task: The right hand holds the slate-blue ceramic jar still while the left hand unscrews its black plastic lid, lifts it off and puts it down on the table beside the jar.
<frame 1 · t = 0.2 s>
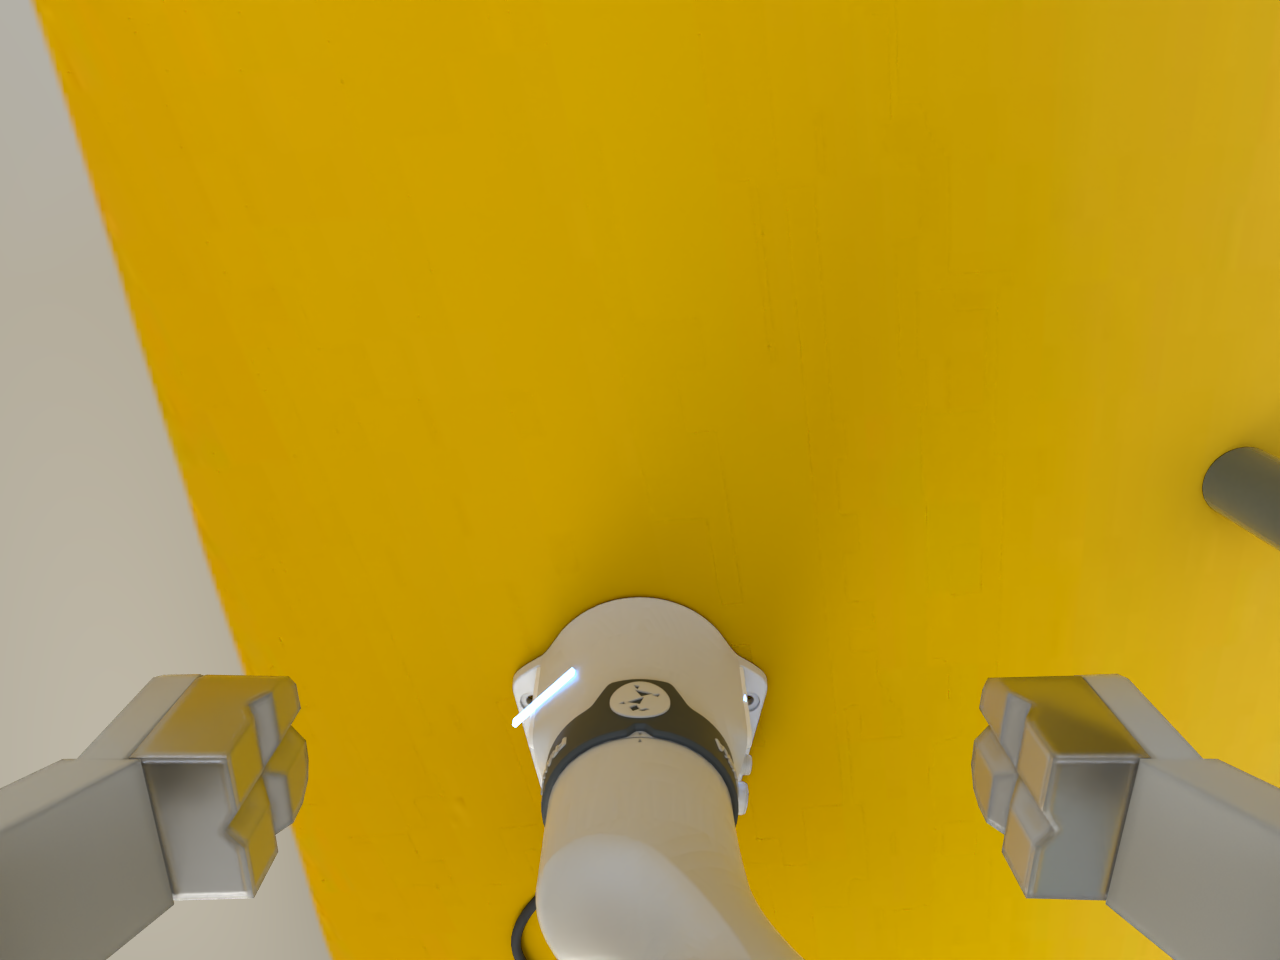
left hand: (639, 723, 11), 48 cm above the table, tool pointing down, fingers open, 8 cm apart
jar: (1238, 481, 61), on the table
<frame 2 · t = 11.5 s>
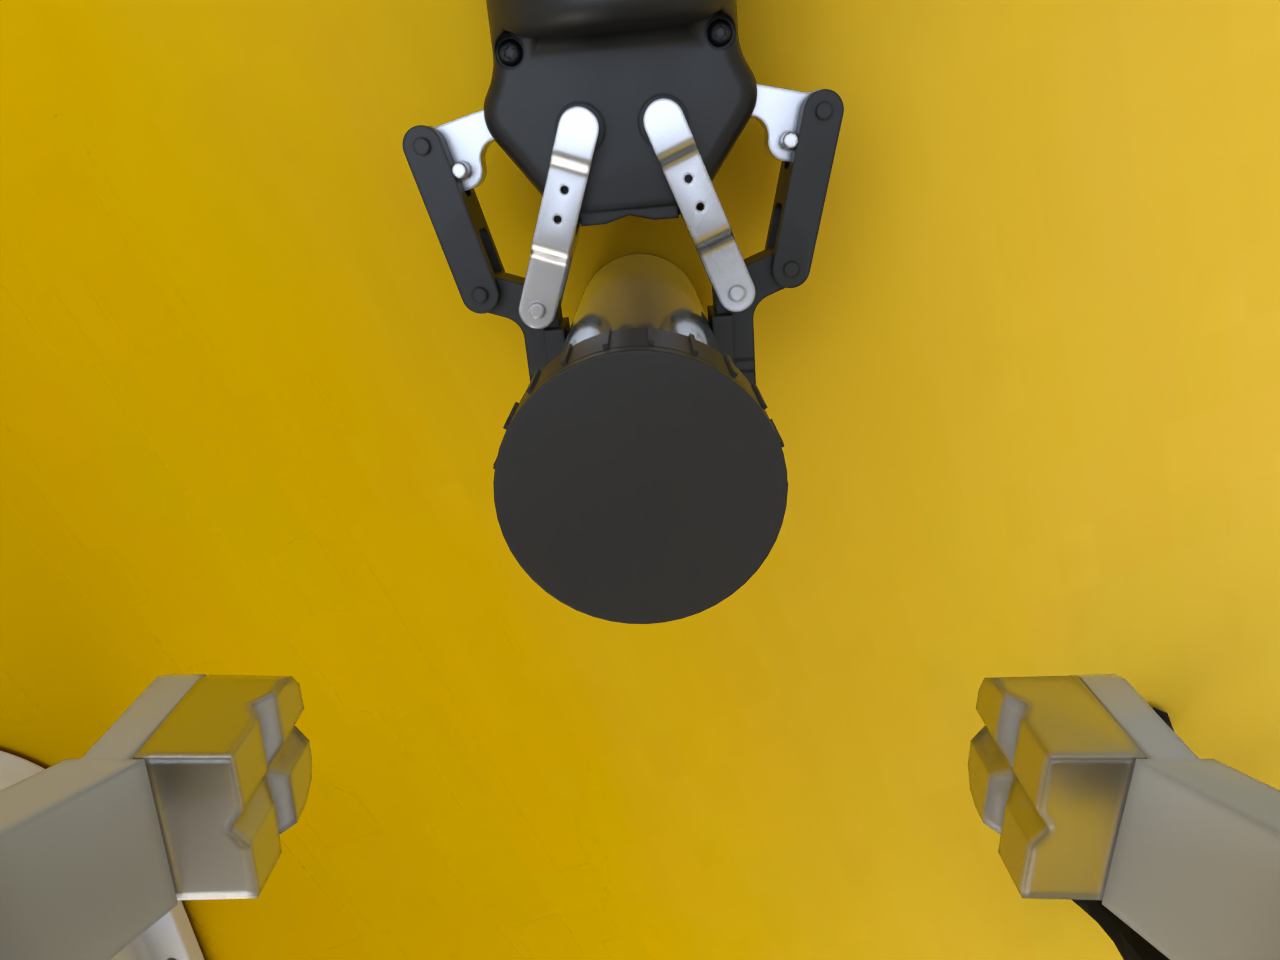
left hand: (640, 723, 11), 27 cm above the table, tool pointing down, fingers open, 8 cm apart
lid: (640, 488, 18), point 20 cm above the table, screwed on, not yet turned
jar: (640, 315, 36), on the table, touching right hand
figurine: (1111, 803, 45), on the table
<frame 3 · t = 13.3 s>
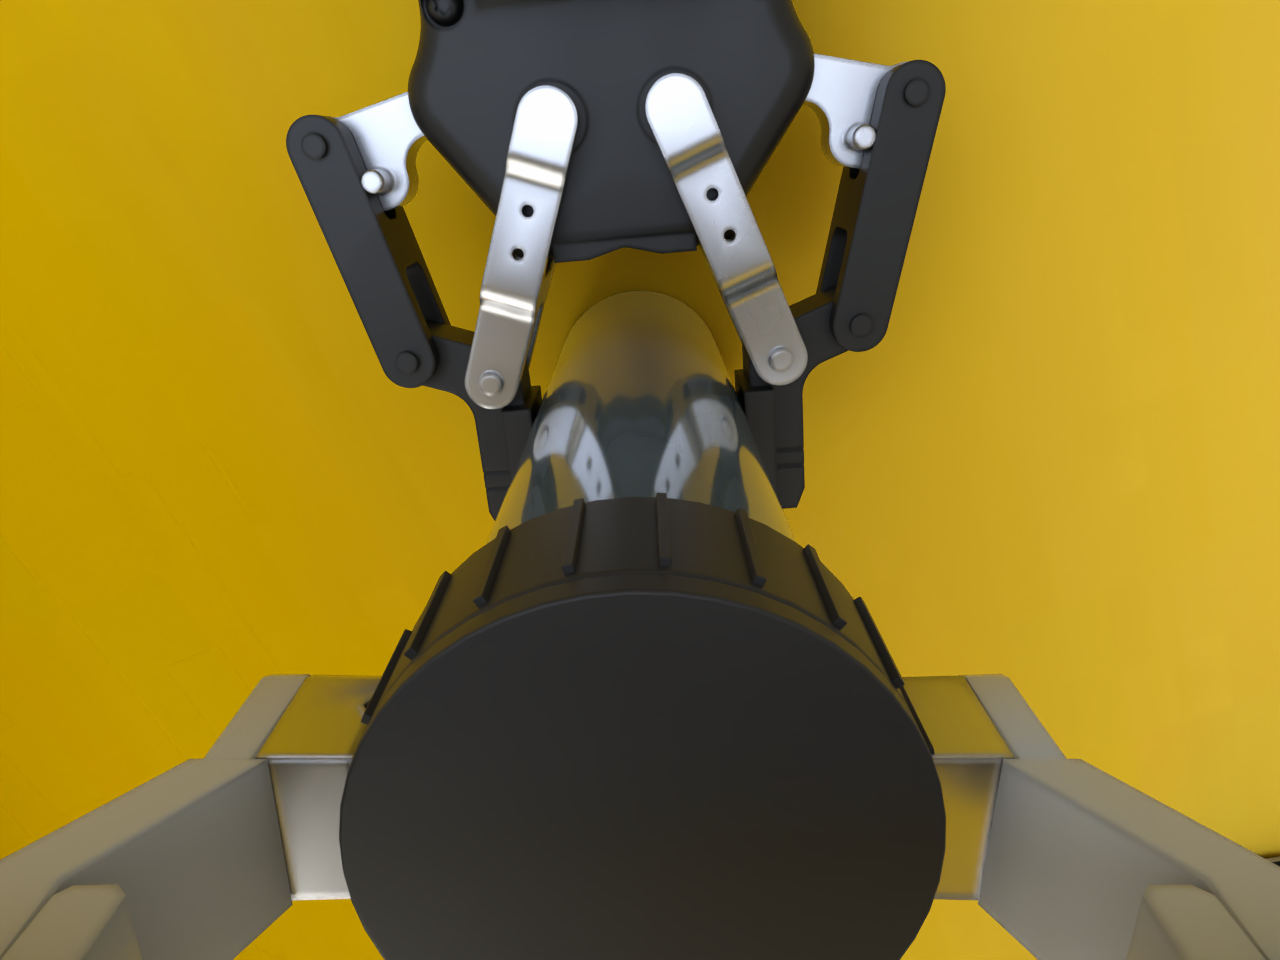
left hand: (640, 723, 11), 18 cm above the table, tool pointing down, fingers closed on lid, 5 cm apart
lid: (642, 835, 9), point 20 cm above the table, screwed on, not yet turned, touching left hand
jar: (640, 371, 27), on the table, touching right hand
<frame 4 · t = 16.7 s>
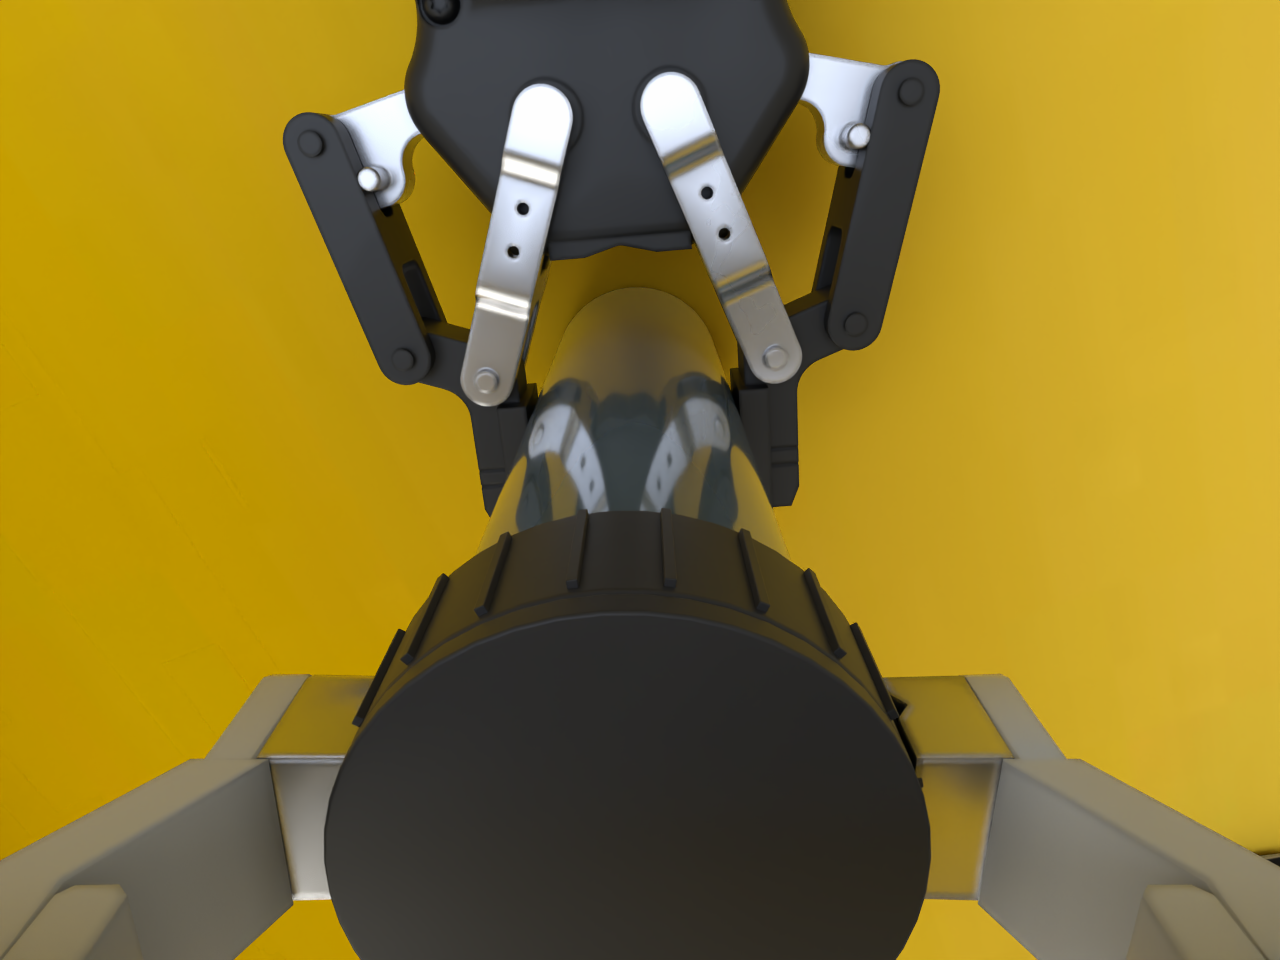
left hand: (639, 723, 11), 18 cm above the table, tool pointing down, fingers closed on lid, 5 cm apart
lid: (627, 850, 9), point 20 cm above the table, turned 99° so far, risen 0.1 cm, still on its thread, touching left hand
jar: (637, 367, 27), on the table, touching right hand
when the left hand's fingers open (2 cm above the table, at t = 33.8 s): lid drops 2 cm, point 2 cm above the table.
when the right hand's fingers open (6 cm above the table, at t = 34.8 s): jar stays where it is, on the table.
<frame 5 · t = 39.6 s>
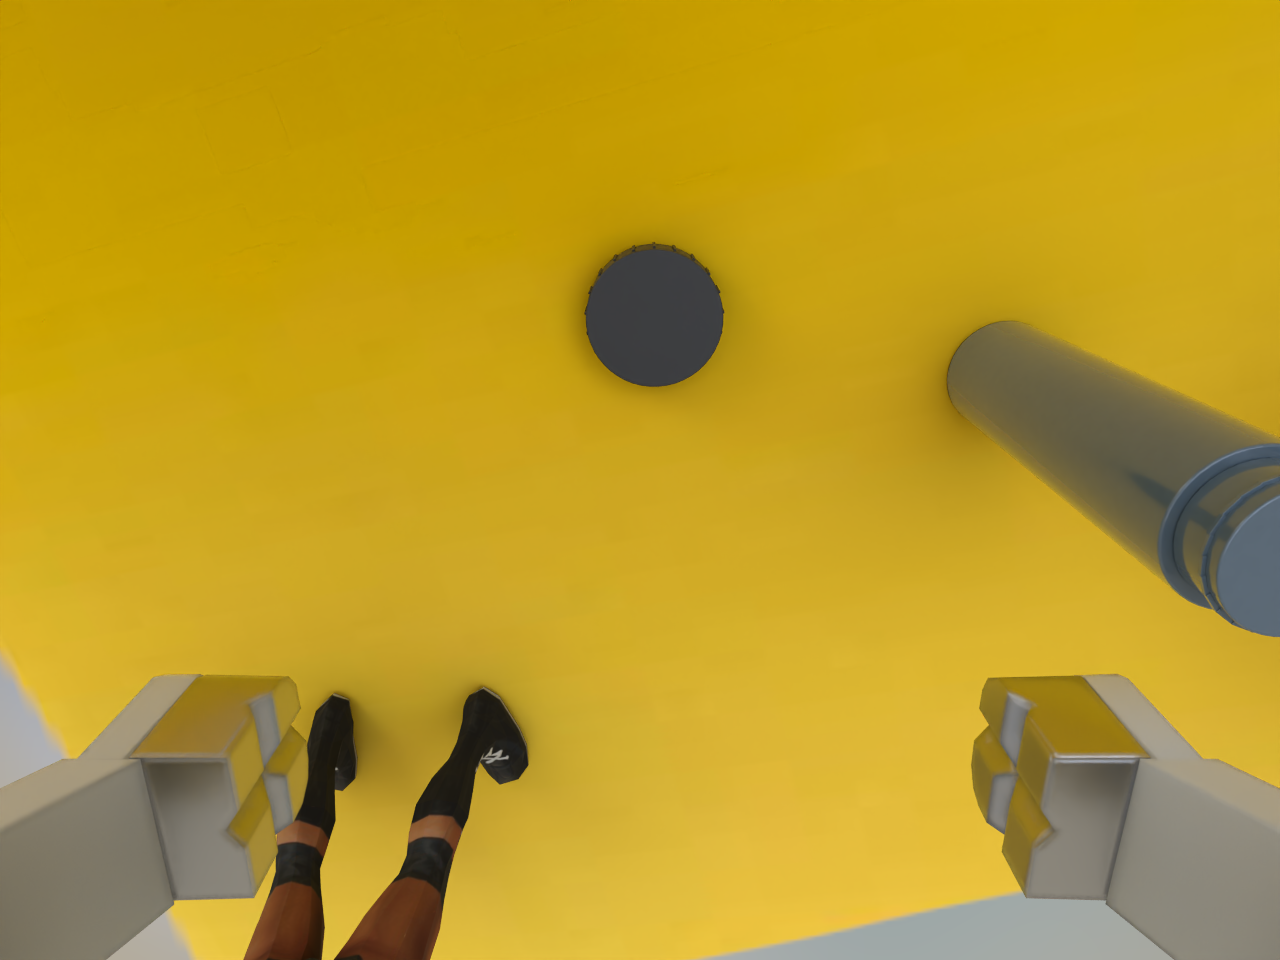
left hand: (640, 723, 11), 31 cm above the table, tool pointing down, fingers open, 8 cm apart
lid: (654, 318, 38), point 2 cm above the table, off its thread
jar: (1001, 374, 40), on the table
figurine: (417, 734, 47), on the table
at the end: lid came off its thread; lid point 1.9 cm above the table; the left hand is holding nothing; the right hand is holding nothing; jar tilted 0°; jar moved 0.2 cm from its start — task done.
